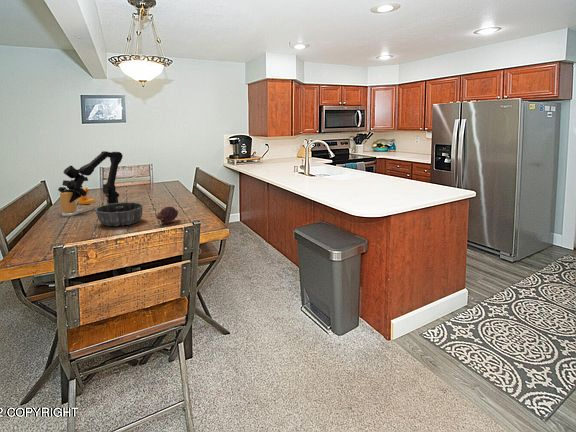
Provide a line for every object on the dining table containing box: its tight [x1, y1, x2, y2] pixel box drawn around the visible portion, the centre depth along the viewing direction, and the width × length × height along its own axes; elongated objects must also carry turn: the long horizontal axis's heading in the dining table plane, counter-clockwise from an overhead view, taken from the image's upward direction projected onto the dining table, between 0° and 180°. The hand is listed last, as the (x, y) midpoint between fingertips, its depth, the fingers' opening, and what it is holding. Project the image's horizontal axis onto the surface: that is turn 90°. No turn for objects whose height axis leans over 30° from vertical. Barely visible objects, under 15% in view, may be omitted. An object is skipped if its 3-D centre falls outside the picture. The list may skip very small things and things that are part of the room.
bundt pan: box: [94, 201, 144, 227], centre depth 226 cm, size 26×26×10 cm
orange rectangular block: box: [59, 192, 77, 213], centre depth 246 cm, size 6×6×12 cm
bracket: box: [77, 187, 95, 205], centre depth 282 cm, size 11×7×12 cm, turn 4°
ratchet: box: [61, 206, 94, 218], centre depth 253 cm, size 22×9×5 cm, turn 163°
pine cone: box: [155, 206, 179, 225], centre depth 226 cm, size 18×10×10 cm, turn 157°
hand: (66, 202), depth 245 cm, fingers closed on orange rectangular block, 6 cm apart
